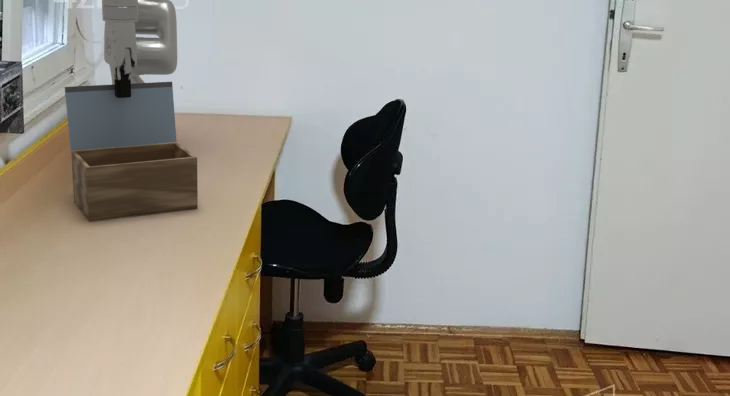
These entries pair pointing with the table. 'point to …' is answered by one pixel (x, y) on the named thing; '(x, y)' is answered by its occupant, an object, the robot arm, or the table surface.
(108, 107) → the lid flap
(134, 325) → the table surface
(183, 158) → the wooden box
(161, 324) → the table surface
